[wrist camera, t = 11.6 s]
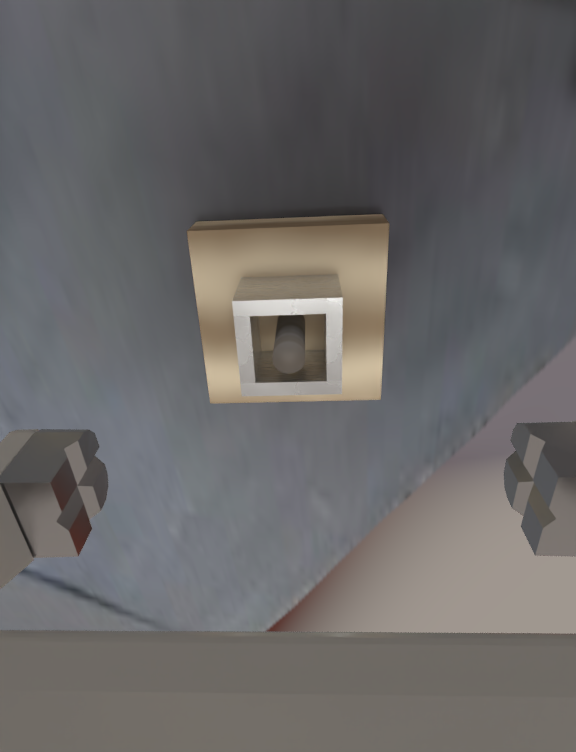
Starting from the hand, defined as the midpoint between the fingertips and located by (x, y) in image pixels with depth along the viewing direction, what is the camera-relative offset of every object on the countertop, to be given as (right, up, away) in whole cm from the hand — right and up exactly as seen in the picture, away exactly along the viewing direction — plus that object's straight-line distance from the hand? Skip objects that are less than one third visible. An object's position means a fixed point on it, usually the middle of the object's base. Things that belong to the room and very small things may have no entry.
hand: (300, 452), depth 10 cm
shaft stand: (0, +6, +25) cm, 26 cm away
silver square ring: (0, +5, +22) cm, 23 cm away
